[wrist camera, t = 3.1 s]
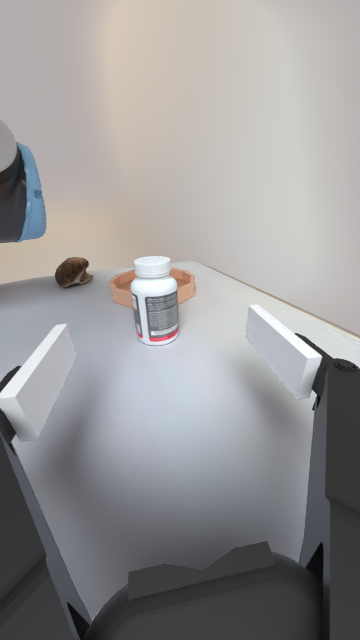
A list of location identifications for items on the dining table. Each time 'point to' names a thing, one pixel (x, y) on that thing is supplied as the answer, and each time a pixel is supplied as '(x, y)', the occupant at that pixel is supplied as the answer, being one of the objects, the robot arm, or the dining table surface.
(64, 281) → the mushroom
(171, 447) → the dining table surface
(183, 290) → the bowl
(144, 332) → the pill bottle
